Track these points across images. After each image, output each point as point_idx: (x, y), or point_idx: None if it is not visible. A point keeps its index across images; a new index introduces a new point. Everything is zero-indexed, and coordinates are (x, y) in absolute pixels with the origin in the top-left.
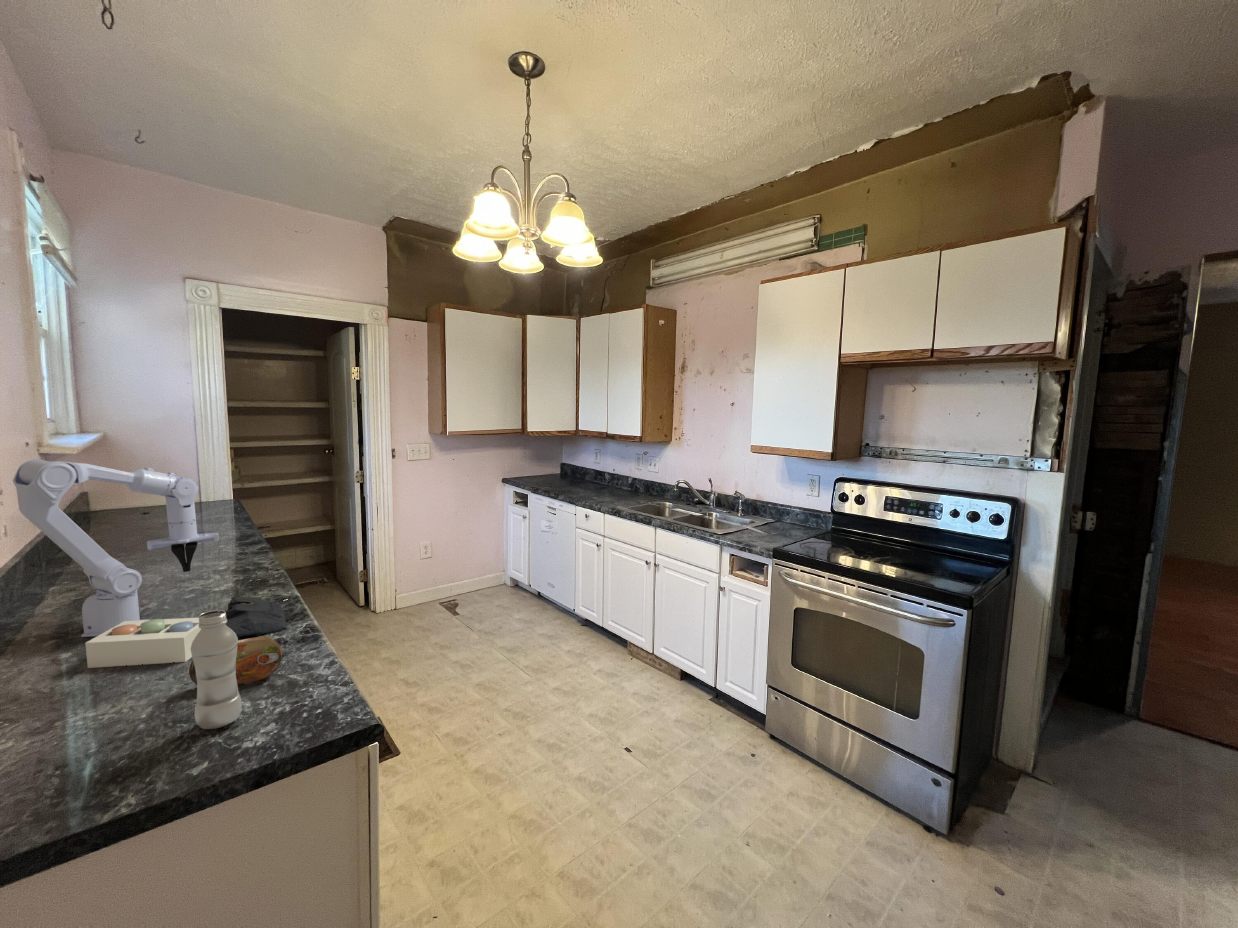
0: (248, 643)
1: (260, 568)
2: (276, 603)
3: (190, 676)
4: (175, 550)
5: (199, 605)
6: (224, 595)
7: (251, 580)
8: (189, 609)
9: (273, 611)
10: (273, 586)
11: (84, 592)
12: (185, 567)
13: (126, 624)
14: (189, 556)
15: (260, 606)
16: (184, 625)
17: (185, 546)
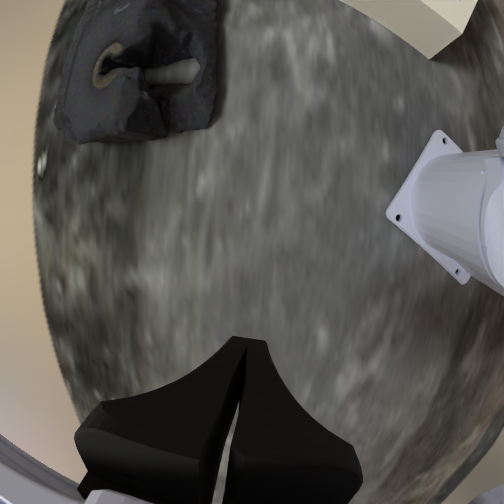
0: None
1: None
2: (58, 99)
3: None
4: (325, 453)
5: (236, 283)
6: (165, 332)
7: None
8: (267, 261)
9: (82, 28)
10: (60, 312)
11: (403, 493)
12: (251, 348)
13: (448, 2)
14: (197, 387)
15: (90, 49)
16: None
17: (194, 486)
